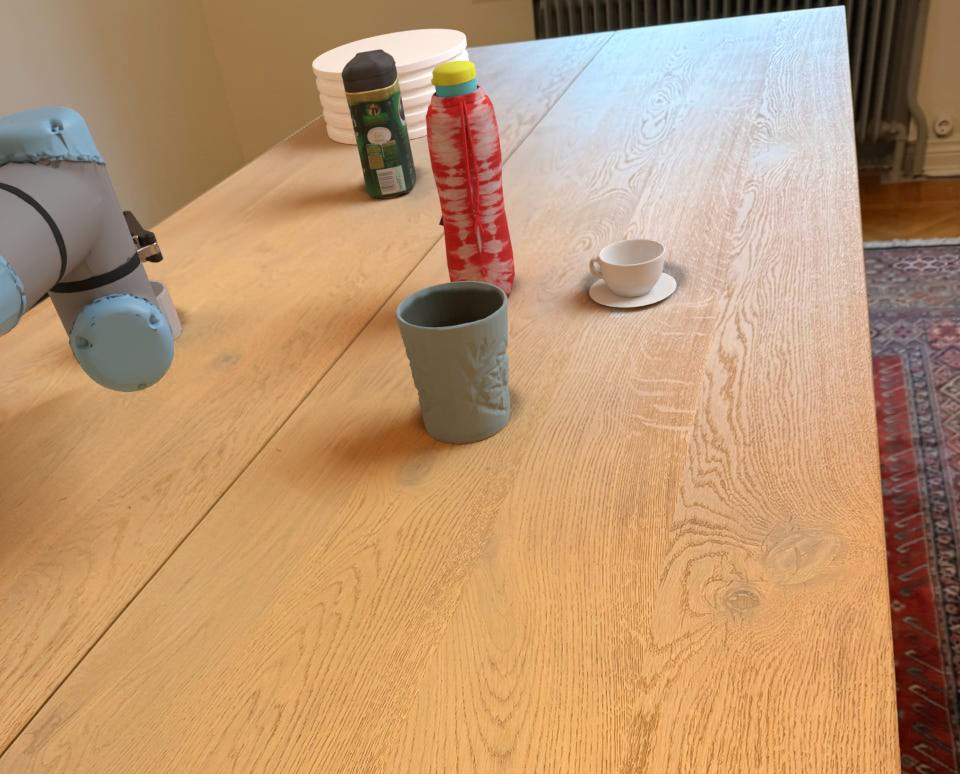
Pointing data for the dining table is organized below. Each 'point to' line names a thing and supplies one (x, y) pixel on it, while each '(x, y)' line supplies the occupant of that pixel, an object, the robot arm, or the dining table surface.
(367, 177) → the coffee jar
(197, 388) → the dining table surface
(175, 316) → the grey faceted cup
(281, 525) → the dining table surface
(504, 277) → the water bottle
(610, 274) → the teacup
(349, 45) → the plate stack
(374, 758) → the dining table surface
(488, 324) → the grey embossed cup
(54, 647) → the dining table surface
